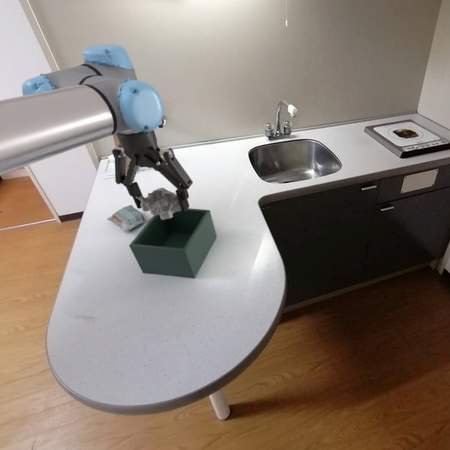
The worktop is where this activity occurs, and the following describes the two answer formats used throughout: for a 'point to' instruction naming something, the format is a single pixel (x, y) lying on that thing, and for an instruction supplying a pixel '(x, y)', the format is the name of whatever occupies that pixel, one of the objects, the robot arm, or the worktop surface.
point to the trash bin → (175, 243)
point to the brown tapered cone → (126, 156)
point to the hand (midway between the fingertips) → (163, 207)
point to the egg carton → (160, 203)
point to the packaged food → (128, 218)
